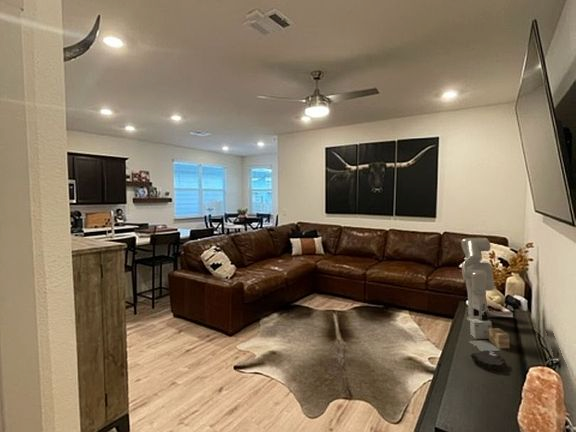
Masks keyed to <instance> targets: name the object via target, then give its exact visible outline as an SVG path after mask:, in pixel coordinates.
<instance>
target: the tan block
mask: <svg viewBox="0 0 576 432" xmlns="http://www.w3.org/2000/svg"><path fill="white" fill-rule="evenodd" d="M488 342H490V343H491V344H493V345H494V346H495V347H497V348H498V349H510V348H511V347H510V345H511V344H510V334H509V333H507V332H505V331H504V330H503V329H501V328H499V327H495V328H493V327H492V328H490V329H489V339H488Z"/></svg>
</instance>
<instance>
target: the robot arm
mask: <svg viewBox="0 0 576 432" xmlns="http://www.w3.org/2000/svg"><path fill="white" fill-rule="evenodd" d="M460 242H461V243H460V244H461V250H462V251H463V254H464V255H465V260H464V261H463V262H462V264H461V275H462V278H463V280H464V281H465V287H466V291H467V292H466V293H467V302H468V303H467V304H468V311H467V314H468V316H466V320H467V321H469V322H470V319H482V321H488V320H489V319H488V318H489V317H488V316H489V310H490V309H489V307H488V303H487V302H488V301H487V292H491V291H494V289H495V279H494V272H493V270H494V269H493V265H492V264H491V263H490V262H485V261H484V262H483V261H482V260H483V256H482V255H483V254H482V252H490V250H491V247H492V246H491V242H490V240H489V239H488V238H487V237H467V238H463V239H462V240H461V241H460ZM481 261H482V262H481Z"/></svg>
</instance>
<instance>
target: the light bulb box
mask: <svg viewBox="0 0 576 432" xmlns="http://www.w3.org/2000/svg"><path fill="white" fill-rule="evenodd" d="M469 325H470V326H469V328H470V336H471V335H472V336H473V337H474V338H473V337H472V336H471V337H472V338H473V339H475V340H477V339H478V340H481V339H482V340H487V339H488V340H489V329H490V328H493V327H492V326H493V325H492V321H491V320H489V319H488V321H482V319H470V321H469Z"/></svg>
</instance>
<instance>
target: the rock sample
mask: <svg viewBox="0 0 576 432" xmlns="http://www.w3.org/2000/svg"><path fill="white" fill-rule="evenodd" d="M470 358H471V359H472V362H473V364H474V366H476V367H478V368H480V369H483V370H486V371H489V372H493V373H496V372H502V371H505V370H506V364H507V363H506V359H505V358H504V357H501V355H500V354H499V353H498V352H496V351H488V350H484V351H482V352H481V351H479V352H472V353H471V354H470Z"/></svg>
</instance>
